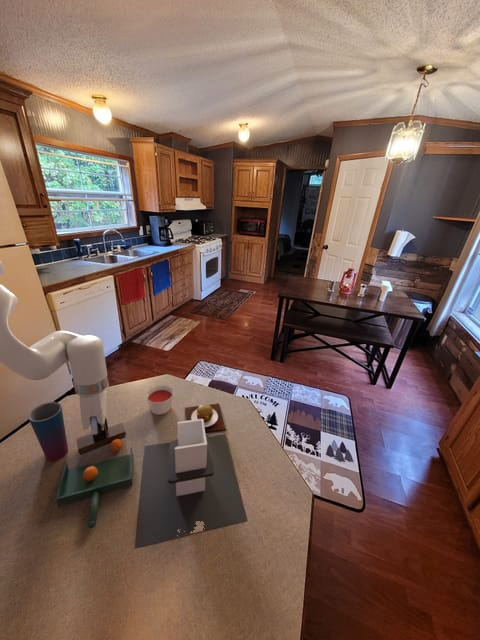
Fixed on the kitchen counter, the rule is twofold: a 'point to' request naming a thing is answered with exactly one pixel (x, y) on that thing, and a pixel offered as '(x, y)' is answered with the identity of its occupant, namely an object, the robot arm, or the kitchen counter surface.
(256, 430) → the kitchen counter surface
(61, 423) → the cup
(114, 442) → the crumb
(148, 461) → the candle holder
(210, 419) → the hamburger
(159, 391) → the candle
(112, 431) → the brush
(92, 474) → the crumb
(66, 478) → the dustpan
